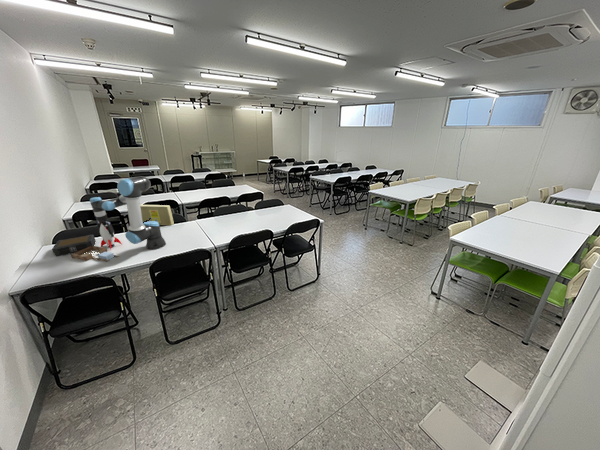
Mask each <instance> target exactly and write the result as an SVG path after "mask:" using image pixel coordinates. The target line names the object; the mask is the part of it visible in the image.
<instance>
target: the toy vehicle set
mask: <svg viewBox="0 0 600 450" xmlns="http://www.w3.org/2000/svg"><path fill="white" fill-rule="evenodd" d="M140 206H141V214H142V222H144V221H146V220H149V218H151V219H150V220H149V221H156V222H158V223H159V226H173V225H174V224H175V223H174V218H173V213H172V210H171V206H170V205H167V204H166V205H165V204H164V205H162V204H161V205H160V204H140Z"/></svg>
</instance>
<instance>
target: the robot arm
mask: <svg viewBox="0 0 600 450" xmlns="http://www.w3.org/2000/svg"><path fill="white" fill-rule="evenodd" d="M151 185H152V184H151V180H150V179H149V178H148V177H147V176H143V175H142V176H141V175H138V176H133V177H129V178H124V179H120V180H119V181H118V182H117V186H116V187H117V191H118V192H119V194H120V195H119V196H118V197H115V198H114V197H113V198H111V199H107V200H102V198H101V196H98V197H97V196H95V197H91V198H90V199H89V202H90V206H91V208H92V212H93V213H94V217H95V219H96V221H95V224H96V226H97V230H98V232H100V226H101V223H102V225H104V227H107V226H108V228H109V229H108V228H107V229H108V232H109V235H110V238H111V241H112V240H115V238H114V237H115V229H114V227H113V225H112V223H111V221H108V215H107V212H106V211H109V212H110V211H113V210H115V209H116V208H119V207H122V206H126V207H127V215H128V221H129V226H128V227H127V230H128V231H126V232H125V234H124V236H125V238H126V239H127V241H128V242H129V243H131V244H133V245H137V244H139V243H142V242H144V241H146V245H145V247H146V248H147V249H148V250H157V249H161V248H163V247H165V246H166V245H167V243H166V240H165V238H164V237H163V235H162V232H161V227H160V225H159V223H158V222H156V221H147V222H144V223H143V222H142V214H141V206H140V205H141V201H140V200H141V199H140V198H141V197H142V193H145V192H146V191H148V190H149V189H150V188H151ZM105 225H107V226H105ZM113 233H114V234H113Z"/></svg>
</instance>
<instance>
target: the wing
mask: <svg viewBox="0 0 600 450" xmlns="http://www.w3.org/2000/svg"><path fill="white" fill-rule="evenodd" d="M114 255H115V254H114V252H109V251H107V252H103V253H101V254H99V255H97V258H100V259H105V260H109V261H110V260H111V259H113V258H115V257H114Z"/></svg>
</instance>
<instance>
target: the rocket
mask: <svg viewBox="0 0 600 450" xmlns="http://www.w3.org/2000/svg"><path fill="white" fill-rule="evenodd" d="M105 226H107V225H105ZM107 228H108V226H107V227H104V225H102V223H101V226H100V231H99V234H100V236H101V242H100V247H103V248H104V246H105V245H107V246H108V248H109V249H110V250H112V247H116V246H115V245H116V244H115V243H118V244H120V245H123V244H122V242H121V240H119V238H117V237H115V236H114V238H115V240H112V241H111V238H110V235H109V232H108V229H109V228H108V229H107ZM113 234H114V235H115V232H114V233H113Z"/></svg>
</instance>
